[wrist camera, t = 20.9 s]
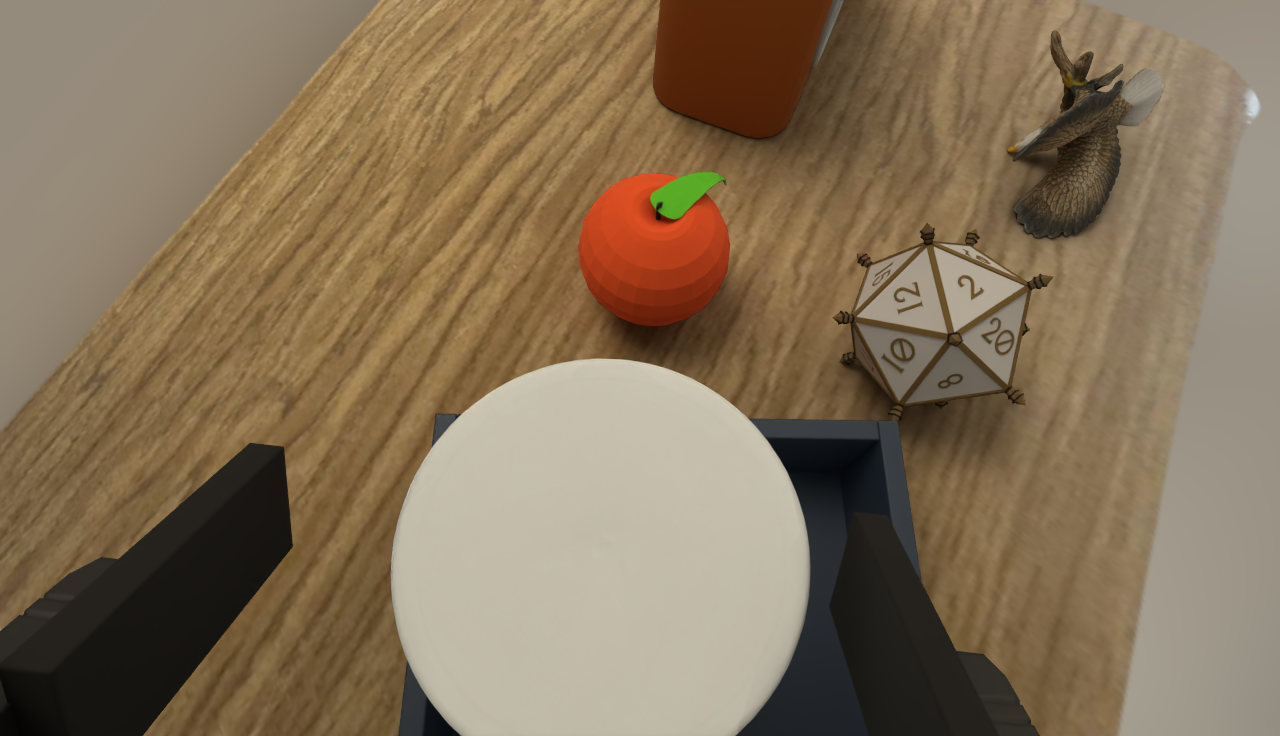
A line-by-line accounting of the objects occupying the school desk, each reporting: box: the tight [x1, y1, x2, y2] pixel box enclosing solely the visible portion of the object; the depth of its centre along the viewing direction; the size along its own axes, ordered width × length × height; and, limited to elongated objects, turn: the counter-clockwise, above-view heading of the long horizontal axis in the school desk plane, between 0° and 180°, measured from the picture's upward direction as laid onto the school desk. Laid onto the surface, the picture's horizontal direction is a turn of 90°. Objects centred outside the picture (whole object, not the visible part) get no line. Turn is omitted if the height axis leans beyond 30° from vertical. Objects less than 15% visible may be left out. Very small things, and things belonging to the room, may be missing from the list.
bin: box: [399, 414, 921, 736], centre depth 26 cm, size 18×18×6 cm
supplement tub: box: [391, 359, 810, 736], centre depth 22 cm, size 10×10×15 cm
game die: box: [832, 223, 1053, 421], centre depth 31 cm, size 9×8×10 cm
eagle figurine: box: [1007, 31, 1165, 238], centre depth 38 cm, size 8×7×9 cm
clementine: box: [579, 172, 730, 326], centre depth 33 cm, size 8×7×7 cm
